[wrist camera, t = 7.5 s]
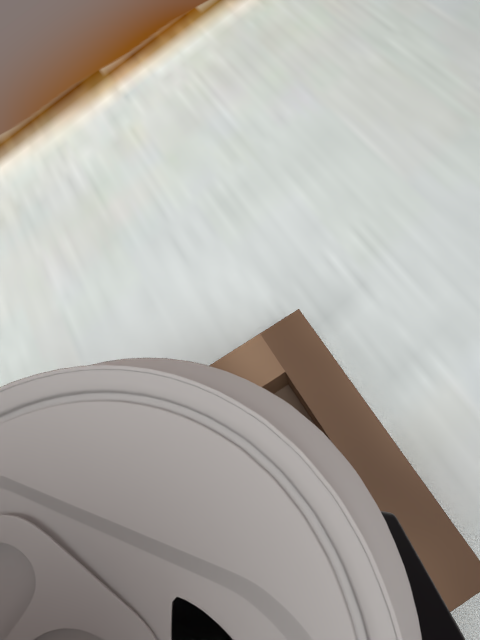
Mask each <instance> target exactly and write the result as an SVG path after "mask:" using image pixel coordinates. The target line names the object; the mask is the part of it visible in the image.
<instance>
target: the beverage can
mask: <svg viewBox="0 0 480 640" xmlns="http://www.w3.org/2000/svg"><path fill="white" fill-rule="evenodd" d="M0 640H422V637H421V631H420V625H419V620H418V615H417V611H416V607H415V603H414V599H413V595H412V591H411V587H410V583H409V580H408V577H407V574H406V570H405V567H404V565H403V562H402V559H401V557H400V554H399V552H398V549H397V546H396V544H395V542H394V539H393V537H392V535H391V532H390V530H389V528H388V526H387V523H386V521H385V519H384V517H383V515H382V513H381V511H380V510H379V508H378V506H377V504H376V502H375V501H374V499H373V497H372V496H371V494H370V493H369V491H368V489H367V488H366V486H365V484H364V483H363V481H362V480H361V478H360V477H359V475H358V474H357V472H356V471H355V469H354V468H353V467H352V466H351V464H350V463H349V462H348V460H347V459H346V458H345V457H344V456H343V455H342V453H341V452H340V451H339V450H338V449H337V448H336V446H335V445H334V444H333V443H332V442H331V441H330V440H329V439H328V437H327V436H326V435H325V434H324V433H323V432H322V431H321V430H320V429H319V428H317V427H316V426H315V425H314V424H313V423H312V422H311V421H309V420H308V419H307V418H306V417H305V416H303V415H302V414H301V413H300V412H299V411H297V410H296V409H295V408H294V407H293V406H291V405H290V404H288V403H287V402H286V401H284V400H283V399H281V398H279V397H278V396H276V395H274V394H273V393H271V392H269V391H268V390H266V389H264V388H262V387H260V386H258V385H256V384H254V383H252V382H250V381H248V380H246V379H244V378H241V377H239V376H237V375H234V374H232V373H229V372H227V371H224V370H220V369H217V368H214V367H211V366H208V365H203V364H198V363H194V362H189V361H183V360H175V359H167V358H131V359H121V360H114V361H106V362H102V363H97V364H93V365H88V366H78V367H71V368H64V369H57V370H53V371H49V372H44V373H40V374H36V375H33V376H30V377H26V378H23V379H20V380H17V381H14V382H11V383H9V384H7V385H4V386H2V387H0Z"/></svg>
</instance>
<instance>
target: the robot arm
mask: <svg viewBox="0 0 480 640" xmlns="http://www.w3.org/2000/svg"><path fill="white" fill-rule="evenodd" d="M381 513H382V515H383V517H384V519H385V521H386V523H387V526H388V528H389V530H390V532H391V535H392V537H393V539H394V542H395V544H396V546H397V549H398V552H399V554H400V557H401V559H402V562H403V565H404V567H405V570H406V574H407V577H408V580H409V583H410V587H411V591H412V595H413V599H414V603H415V607H416V611H417V615H418V620H419V625H420V631H421V637H422V640H465V638H464V636H463V634H462V633H461V631H460V629H459V627H458V626H457V624H456V622H455V620H454V618H453V617H452V615H451V613H450V611H449V610H448V608H447V606H446V604H445V602H444V601H443V599H442V597H441V595H440V594H439V592H438V590H437V588H436V586H435V585H434V583H433V581H432V579H431V578H430V576H429V574H428V572H427V571H426V569H425V567H424V565H423V563H422V562H421V560H420V558H419V556H418V555H417V553H416V551H415V549H414V547H413V546H412V544H411V542H410V540H409V539H408V537H407V535H406V533H405V531H404V530H403V528H402V526H401V524H400V523H399V521H398V519H397V517H396V516H395V515H394V514H393V513H389V512H384V511H381Z"/></svg>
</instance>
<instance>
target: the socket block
mask: <svg viewBox="0 0 480 640" xmlns="http://www.w3.org/2000/svg"><path fill="white" fill-rule="evenodd" d="M210 366H211V367H214V368H217V369H220V370H224V371H227V372H229V373H232V374H234V375H237V376H239V377H241V378H244V379H246V380H248V381H250V382H252V383H254V384H256V385H258V386H260V387H262V388H264V389H266V390H268V391H269V392H271V393H273V394H274V395H276V396H278V397H279V398H281V399H283V400H284V401H286V402H287V403H288V404H290V405H291V406H293V407H294V408H295V409H296V410H297V411H299V412H300V413H301V414H302V415H303V416H305V417H306V418H307V419H308V420H309V421H311V422H312V423H313V424H314V425H315V426H316V427H317V428H319V429H320V430H321V431H322V432H323V433H324V434H325V435H326V436H327V437H328V439H329V440H330V441H331V442H332V443H333V444H334V445H335V446H336V448H337V449H338V450H339V451H340V452H341V453H342V455H343V456H344V457H345V458H346V459H347V460H348V462H349V463H350V464H351V466H352V467H353V468H354V469H355V471H356V472H357V474H358V475H359V477H360V478H361V480H362V481H363V483H364V484H365V486H366V488H367V489H368V491H369V493H370V494H371V496H372V497H373V499H374V501H375V502H376V504H377V506H378V508H379V510H380V511H384V512H389V513H393V514H394V515H395V516H396V517H397V519H398V521H399V523H400V524H401V526H402V528H403V530H404V531H405V533H406V535H407V537H408V539H409V540H410V542H411V544H412V546H413V547H414V549H415V551H416V553H417V555H418V556H419V558H420V560H421V562H422V563H423V565H424V567H425V569H426V571H427V572H428V574H429V576H430V578H431V579H432V581H433V583H434V585H435V586H436V588H437V590H438V592H439V594H440V595H441V597H442V599H443V601H444V602H445V604H446V606H447V608H448V610H449V611H450V612H451V611H452V610H454V609H455V608H457V607H458V606H460V605H461V604H463V603H464V602H466V601H467V600H469V599H470V598H471V597H473V596H474V595H476V594H477V593H479V592H480V561H479V559H478V558H477V556H476V555H475V554H474V552H473V551H472V549H471V548H470V547H469V545H468V544H467V542H466V541H465V540H464V538H463V537H462V535H461V534H460V533H459V531H458V530H457V529H456V527H455V526H454V524H453V523H452V522H451V520H450V519H449V517H448V516H447V515H446V513H445V512H444V510H443V509H442V508H441V506H440V505H439V503H438V502H437V501H436V499H435V498H434V496H433V495H432V494H431V492H430V491H429V490H428V488H427V487H426V485H425V484H424V483H423V481H422V480H421V478H420V477H419V476H418V474H417V473H416V471H415V470H414V469H413V467H412V466H411V464H410V463H409V462H408V460H407V459H406V457H405V456H404V455H403V453H402V452H401V451H400V449H399V448H398V446H397V445H396V444H395V442H394V441H393V439H392V438H391V437H390V435H389V434H388V432H387V431H386V430H385V428H384V427H383V425H382V424H381V423H380V421H379V420H378V418H377V417H376V416H375V414H374V413H373V412H372V410H371V409H370V407H369V406H368V405H367V403H366V402H365V400H364V399H363V398H362V396H361V395H360V393H359V392H358V391H357V389H356V388H355V386H354V385H353V384H352V382H351V381H350V380H349V378H348V377H347V375H346V374H345V373H344V371H343V370H342V368H341V367H340V366H339V364H338V363H337V361H336V360H335V359H334V357H333V356H332V354H331V353H330V352H329V350H328V349H327V347H326V346H325V345H324V343H323V342H322V341H321V339H320V338H319V336H318V335H317V334H316V332H315V331H314V329H313V328H312V327H311V325H310V324H309V322H308V321H307V320H306V318H305V317H304V315H303V314H302V313H301V311H300V310H299V309H298V310H296V311H295V312H293V313H292V314H290V315H288V316H287V317H285V318H284V319H282V320H281V321H279V322H277V323H276V324H274V325H273V326H271V327H270V328H268V329H266V330H265V331H263V332H262V333H260V334H258V335H257V336H255V337H254V338H252V339H251V340H249V341H247V342H246V343H244V344H243V345H241V346H240V347H238V348H236V349H235V350H233V351H232V352H230V353H229V354H227V355H225V356H224V357H222V358H221V359H219V360H217V361H216V362H214V363H213V364H211V365H210Z"/></svg>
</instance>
